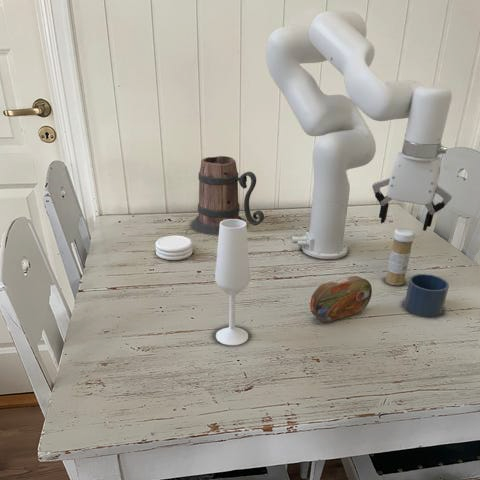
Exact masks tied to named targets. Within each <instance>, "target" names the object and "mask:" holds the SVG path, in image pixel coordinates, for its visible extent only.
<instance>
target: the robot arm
mask: <svg viewBox="0 0 480 480" xmlns="http://www.w3.org/2000/svg"><path fill="white" fill-rule="evenodd" d="M375 51H376V50H375V47H374V44H373V43H372V42H371V41H369V40H368V39H367V25H366V22H365V20H364V18H363V17H362V16H361V15H360V14H359V13H358V12H354V11H344V10H343V11H342V10H327V11H323V12H321V13H319V14H317V15H316V16H315V17H314V18H313V19H312V21H311V22H310V25H298V24H296V25H295V24H293V25H285V26H281V27H279V28H276V29H275V30H274V31H273V32H272V33H271V34H270V35H269V37H268V38H267V42H266V48H265V59H266V66H267V69H268V73H269V74H270V77H271V79H272V80H273V82H274V84H275V85H276V87H277V88H278V89H279V90H280V92H281V93H282V95H283V97H284V98H285V100H286V101H287V103H288V106H289V107H290V110H291V111H292V113H293V114H294V117H295V118H296V120H297V121H298V124H299V126H300V127H301V129H302V131H304V133H305V134H306V136H307V135H308V136H310V137H319V138H318V139H317V140H316V141H315V143H314V145H313V148H312V167H313V187H312V198H311V208H310V220H309V229H308V230H309V231H306V233H305V234H303V235H302V236H297V235H296V236H291V244H297V247H301V251H302V252H303V253H304V254H306V255H307V256H309V257H311V258H315V259H319V260H336V259H341V258H343V257H345V256H346V255H347V254H348V246H347V245H346V244H345V243H344V236H345V229H346V222H347V214H348V209H349V208H348V207H349V199H350V192H351V191H350V190H351V189H350V188H351V186H350V181H349V178H348V174H347V171H348V170H349V171H350V170H352V169H356V168H360V167H364V166H367V165H368V164H369V163H370V162H372V161H373V160H374V157H375V155H376V149H377V143H376V139H375V137H374V135H373V133H372V131H371V129H370V127H369V126H368V124H367V122H366V121H365V118H364V117H363V115H362V114H361V112H362V113H363V114H364V115H365V116H366V117H367V118H370V119H371V120H373V121H375V122H376V121H377V122H389V121H394V120H403V119H408V120H407V123H406V130H405V134H404V139H403V142H402V143H403V144H402V149H401V151H400V152H398V153H397V155H396V158H395V161H394V164H393V166H392V171H391V174H390V177H388V178H386V179H383V180H380V181H376V182H374V183H372V186H371V187H372V190H373V194H374V197H375V199H376V200H377V201H378V203H379V205H380V208H379V213H378V218H379V219H380V223H381V224H383V223H385V222H386V220H387V215H388V211H389V210H388V209H389V206H390V204H389V202H390V201H392V200H393V201H397V202H402V203H409V204H415V205H423V206H425V207H426V210H427V212H426V214H425V219H424V223H423V227H422V230H423V231H424V232H426V231H427V229H428V228H429V227H431V226H432V222H433V220H434V219H433V218H434V215H435V214H436V213H437V212H439V211H441V210H443V209H444V208H445V207H446V205H448V203H449V202H451V200H452V198H453V195H452V194H451V193H450V192H448V191H447V190H445V189H444V188H443V187H442V186H440V185H438V183H439V179H440V172H441V167H442V166H441V165H442V157H441V156H440V155H443V154H444V155H445V154H447V150H448V147H447V146H444V145H443V144H442V140H443V139H442V138H443V135H444V131H445V127H446V124H447V120H448V115H449V111H450V108H451V107H450V106H451V103H452V97H453V91H452V90H451V89H450V88H449V87H445V86H442V85H441V86H440V85H427V84H425V83H422V82H419V81H415V80H394V81H393V80H392V81H384V80H383V79H381V77H379V76H378V75H377V74H376V73H375V72H374V71H373V70H372V69H371V68H370V66H371V64H373V63H372V62H373V60H374V59H375V54H376V53H375ZM326 61H328V62H329V64H331V65H332V66H333V67H334V68H335V69H336V70H337V71H338V73H340V75H342V76H343V77H344V78H343V83H344V88H345V91H346V93H347V96H346V95H343V94H329V95H328V94H325V93H324V92H323V91H322V89H321V88H320V87H319V85H318V83H317V81H316V79H315V78H314V76H313V75H312V74H311V73H310V72H309V71H307V70H306V69H305V68H304V67H303V66H302V65H303V64H318V63H323V62H326ZM301 64H302V65H301ZM360 111H361V112H360ZM386 186H387V190H386V195H384V194H383V192H382V190H381V188H383V187H386ZM436 195H438V196H439V197H441V198H442V199H441V201H440V202H438V203H436V204H435V201H434V199H435V197H436Z"/></svg>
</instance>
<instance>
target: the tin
mask: <svg viewBox="0 0 480 480" xmlns="http://www.w3.org/2000/svg"><path fill="white" fill-rule="evenodd" d="M372 287H373V286H372V285H371V282H370V281H369V280H367V279H365V278H362V277H361V276H357V275H352V276H348V277H343V278H341V279H340V278H339V279H337V280H333V281H328V282H325V283H322V284H321V285H319V286H318V287H317V288H316V289H315V290H314V292H313V293H312V295H311V296H310V297H311V298H310V303H309V306H310V307H309V308H310V312H311V314H312V315H313V316H314V317H315V318H317V319H318V320H319V321H321V322H323V323H331V322H335V321H337V320H340V319H344V318H347V317H350V316H354V315H357V314H359V313H361V312H362V311H363V310H364V309H366V307H367V306H368V304H369V302H370V300H371V298H372V294H373V289H372Z"/></svg>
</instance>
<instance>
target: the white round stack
mask: <svg viewBox="0 0 480 480" xmlns="http://www.w3.org/2000/svg"><path fill="white" fill-rule="evenodd" d="M154 246H155V254H156V256H157V257H158V258H160V259H163V260H166V261H181V260H185V259H188V258H189V257H191V256H192V255H193V251H194V250H193V248H194V247H193V241H192V239H190V238H189V237H188V236H183V235H166V236H163V237H160V238H158V239H157V240H156V241H155V243H154Z"/></svg>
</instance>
